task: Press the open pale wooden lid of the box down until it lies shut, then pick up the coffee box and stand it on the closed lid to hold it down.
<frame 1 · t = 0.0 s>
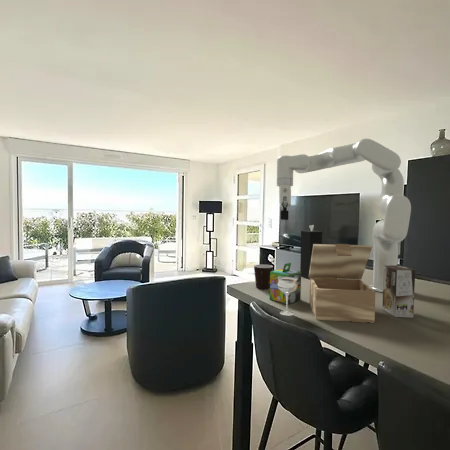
hand: (284, 219, 143), 31 cm above the table, tool pointing down, fingers open, 9 cm apart
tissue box: (310, 277, 162), on the table
chalk box: (285, 300, 120), on the table
box: (339, 312, 106), on the table
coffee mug: (261, 288, 138), on the table
lid: (339, 266, 107), point 16 cm above the table, hinge at 50.0°
plant pot: (325, 296, 127), on the table
wineglass: (286, 313, 105), on the table
coffee box: (397, 313, 106), on the table
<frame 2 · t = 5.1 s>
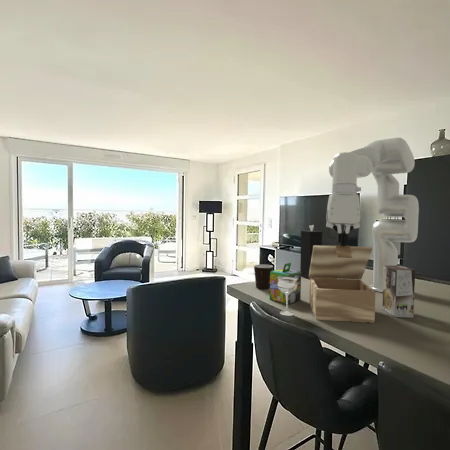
hand: (342, 245, 102), 24 cm above the table, tool pointing down, fingers closed
lid: (339, 267, 106), point 16 cm above the table, hinge at 47.9°, touching gripper
everything else where it was.
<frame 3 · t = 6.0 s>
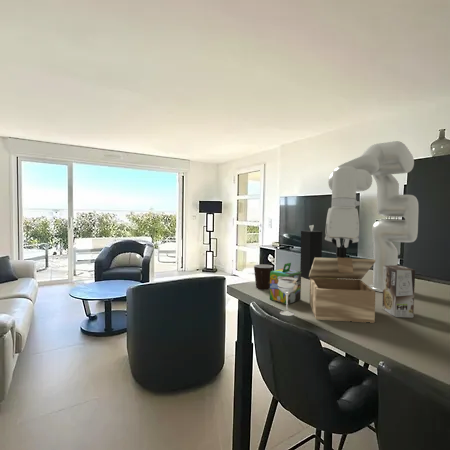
hand: (340, 258, 102), 19 cm above the table, tool pointing down, fingers closed
lid: (339, 274, 105), point 13 cm above the table, hinge at 31.5°
everything else where it was.
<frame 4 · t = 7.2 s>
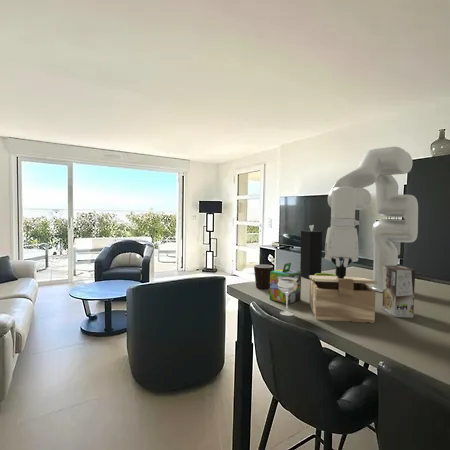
hand: (340, 277, 102), 13 cm above the table, tool pointing down, fingers closed
lid: (340, 285, 105), point 10 cm above the table, hinge at 8.1°, touching gripper
everything else where it was.
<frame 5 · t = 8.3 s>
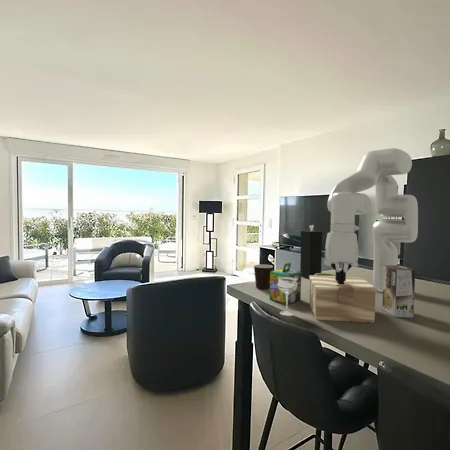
hand: (340, 283, 103), 11 cm above the table, tool pointing down, fingers closed
lid: (339, 288, 105), point 8 cm above the table, hinge at -0.2°, touching gripper
everything else where it was.
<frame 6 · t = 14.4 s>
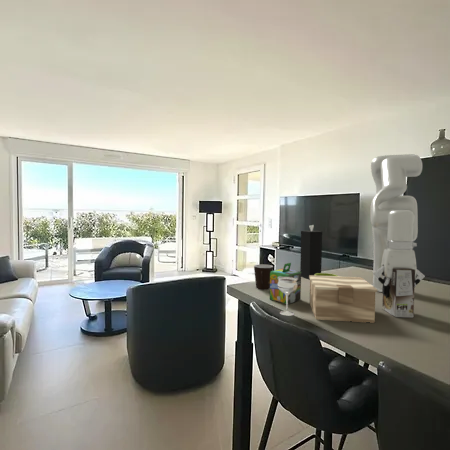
hand: (397, 296, 105), 6 cm above the table, tool pointing down, fingers closed on coffee box, 7 cm apart
lid: (339, 288, 105), point 8 cm above the table, hinge at -0.2°
coffee box: (397, 313, 106), on the table, touching gripper
everything else where it was.
when the fingers open (19 cm above the table, at t = 20.6 s): coffee box drops 2 cm, resting on lid.
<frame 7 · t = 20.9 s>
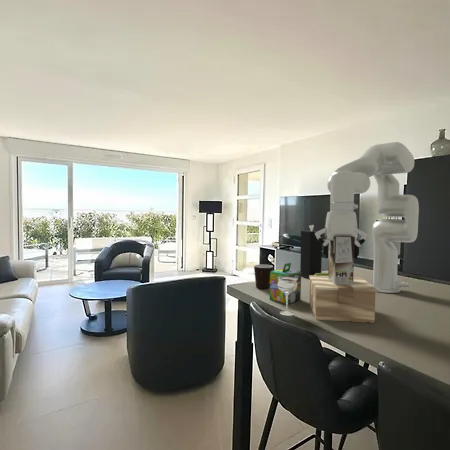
hand: (340, 257, 105), 19 cm above the table, tool pointing down, fingers open, 9 cm apart
lid: (339, 288, 105), point 8 cm above the table, hinge at -0.4°, touching box, coffee box
coffee box: (340, 282, 105), point 11 cm above the table, touching lid
everything else where it was.
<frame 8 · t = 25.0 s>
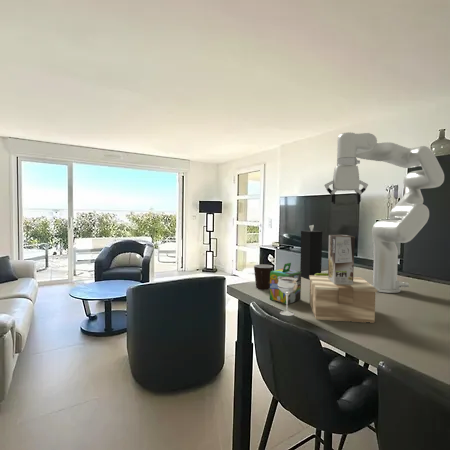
hand: (345, 204, 129), 38 cm above the table, tool pointing down, fingers open, 9 cm apart
nothing on the table moved.
at the end: lid at +0° (first picture: +50°); coffee box inside the target area on the box (0.2 cm from its centre), point 10.6 cm above the box's base; coffee box tilted 0° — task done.
